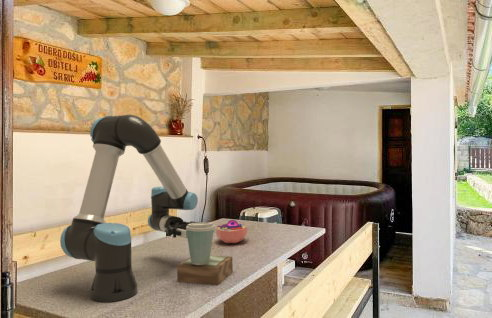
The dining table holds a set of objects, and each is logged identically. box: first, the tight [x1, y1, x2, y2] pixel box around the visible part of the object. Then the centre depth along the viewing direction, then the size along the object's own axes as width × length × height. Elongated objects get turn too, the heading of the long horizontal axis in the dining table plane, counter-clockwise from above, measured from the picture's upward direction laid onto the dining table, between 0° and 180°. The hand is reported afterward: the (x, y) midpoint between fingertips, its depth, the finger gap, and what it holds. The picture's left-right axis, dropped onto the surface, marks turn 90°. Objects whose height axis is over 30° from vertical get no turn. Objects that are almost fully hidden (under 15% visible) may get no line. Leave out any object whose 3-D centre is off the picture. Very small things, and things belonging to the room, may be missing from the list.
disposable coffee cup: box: [186, 221, 215, 265], centre depth 149 cm, size 11×11×15 cm
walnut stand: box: [176, 254, 234, 286], centre depth 153 cm, size 16×16×6 cm
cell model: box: [215, 219, 248, 244], centre depth 210 cm, size 17×20×11 cm
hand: (201, 231), depth 155 cm, fingers open, 13 cm apart
